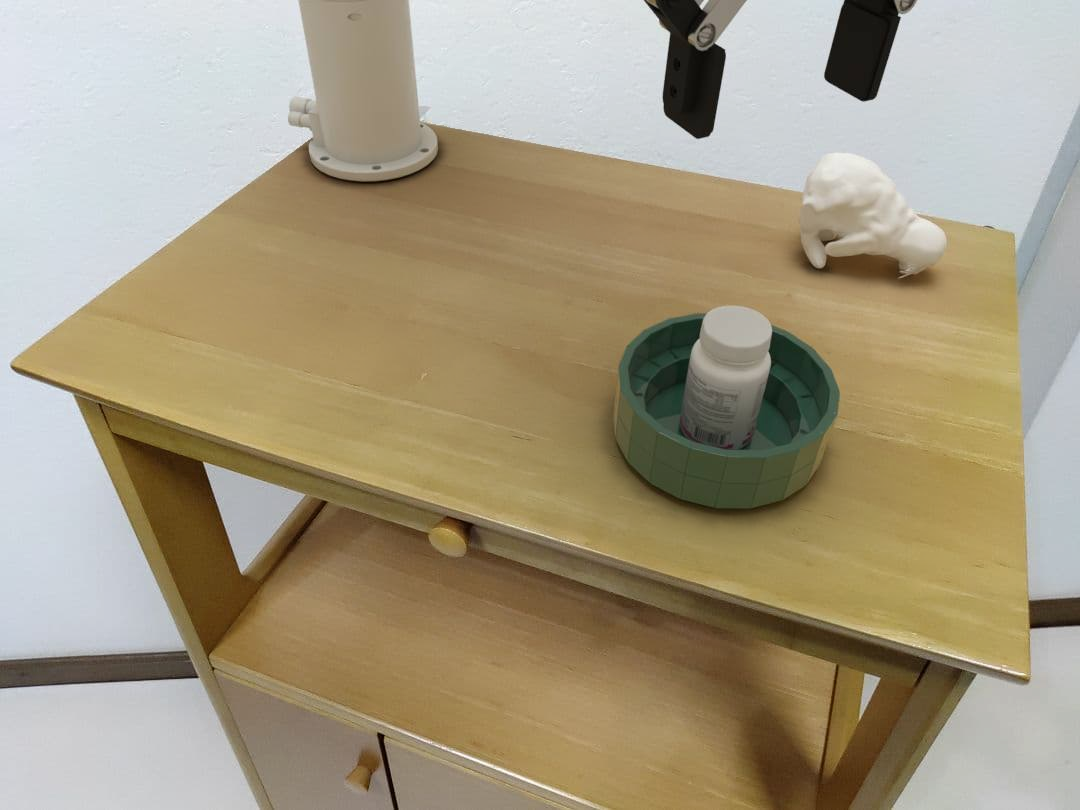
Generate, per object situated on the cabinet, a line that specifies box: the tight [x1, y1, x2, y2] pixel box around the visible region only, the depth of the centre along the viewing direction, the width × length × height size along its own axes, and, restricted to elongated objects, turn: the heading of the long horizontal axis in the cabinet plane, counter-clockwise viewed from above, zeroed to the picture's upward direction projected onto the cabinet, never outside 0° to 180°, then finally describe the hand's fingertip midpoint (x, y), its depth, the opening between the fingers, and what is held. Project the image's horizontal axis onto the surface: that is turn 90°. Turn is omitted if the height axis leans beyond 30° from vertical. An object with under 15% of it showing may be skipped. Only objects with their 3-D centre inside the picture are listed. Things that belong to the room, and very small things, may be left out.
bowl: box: [612, 312, 841, 510], centre depth 52 cm, size 13×13×5 cm
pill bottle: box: [680, 304, 772, 450], centre depth 50 cm, size 5×5×8 cm
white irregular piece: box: [797, 152, 947, 279], centre depth 66 cm, size 6×8×12 cm
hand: (770, 107), depth 40 cm, fingers open, 9 cm apart
